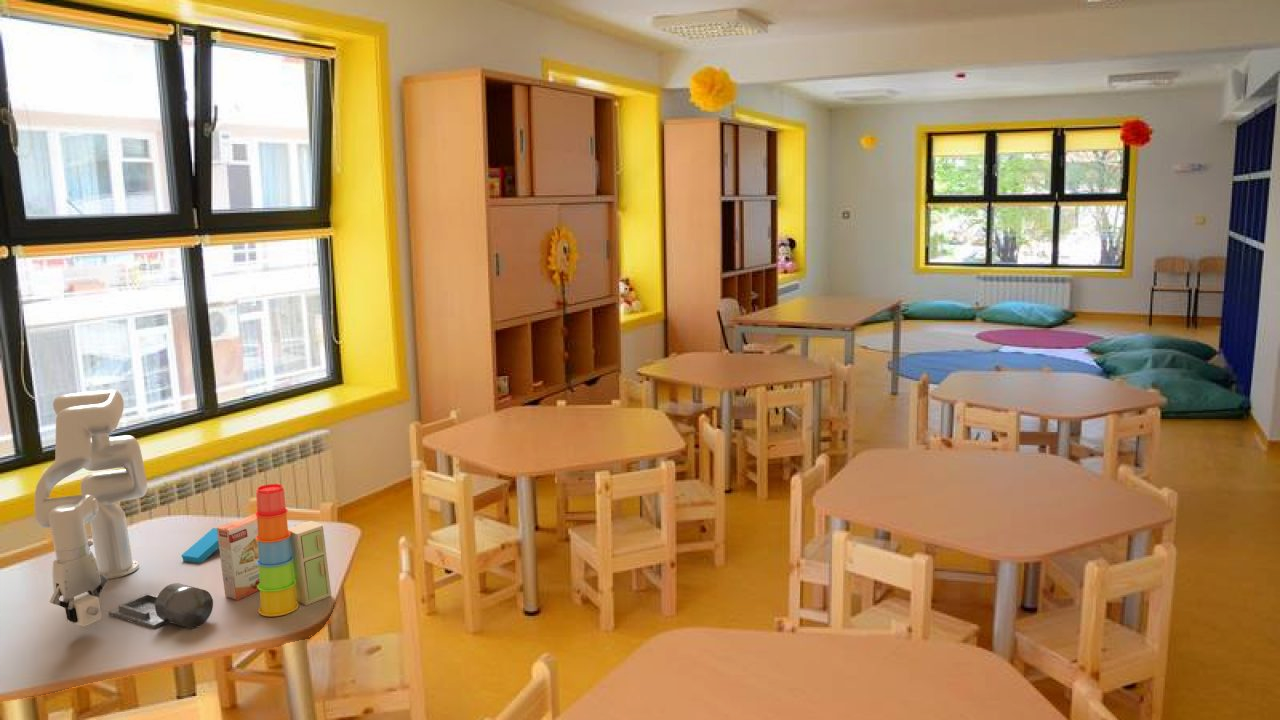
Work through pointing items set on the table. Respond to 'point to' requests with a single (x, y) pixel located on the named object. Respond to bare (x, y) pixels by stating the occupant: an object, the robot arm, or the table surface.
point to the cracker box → (239, 557)
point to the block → (86, 609)
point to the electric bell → (168, 607)
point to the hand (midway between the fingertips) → (83, 616)
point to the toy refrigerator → (309, 562)
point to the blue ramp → (202, 547)
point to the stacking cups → (274, 553)
